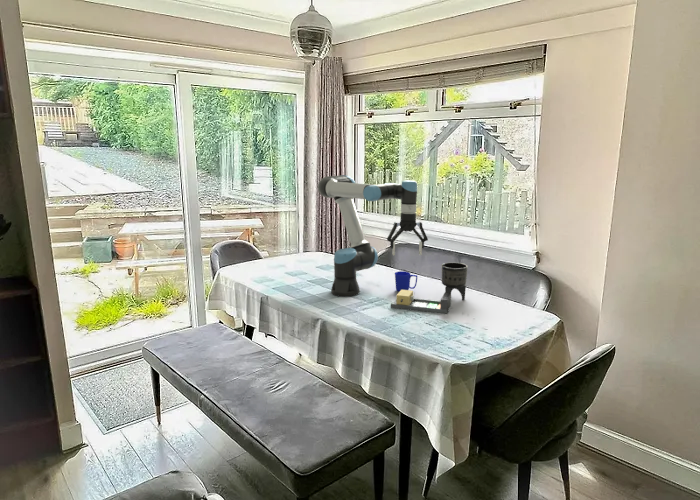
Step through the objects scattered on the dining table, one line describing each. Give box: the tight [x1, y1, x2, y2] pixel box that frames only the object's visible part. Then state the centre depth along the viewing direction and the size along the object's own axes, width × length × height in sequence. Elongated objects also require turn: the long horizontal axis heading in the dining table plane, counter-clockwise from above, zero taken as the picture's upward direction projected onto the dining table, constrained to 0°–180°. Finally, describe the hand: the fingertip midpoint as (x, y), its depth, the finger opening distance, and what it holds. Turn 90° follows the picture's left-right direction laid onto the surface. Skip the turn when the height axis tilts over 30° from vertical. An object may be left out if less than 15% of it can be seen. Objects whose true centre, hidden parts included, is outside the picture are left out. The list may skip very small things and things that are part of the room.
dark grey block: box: [440, 291, 452, 312], centre depth 226 cm, size 3×12×6 cm, turn 160°
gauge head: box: [395, 289, 415, 305], centre depth 231 cm, size 7×12×5 cm, turn 160°
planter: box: [441, 261, 469, 301], centre depth 241 cm, size 13×13×18 cm
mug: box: [394, 271, 418, 293], centre depth 255 cm, size 8×12×10 cm
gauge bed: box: [390, 297, 452, 315], centre depth 231 cm, size 27×12×2 cm, turn 70°
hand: (406, 254), depth 237 cm, fingers open, 13 cm apart
